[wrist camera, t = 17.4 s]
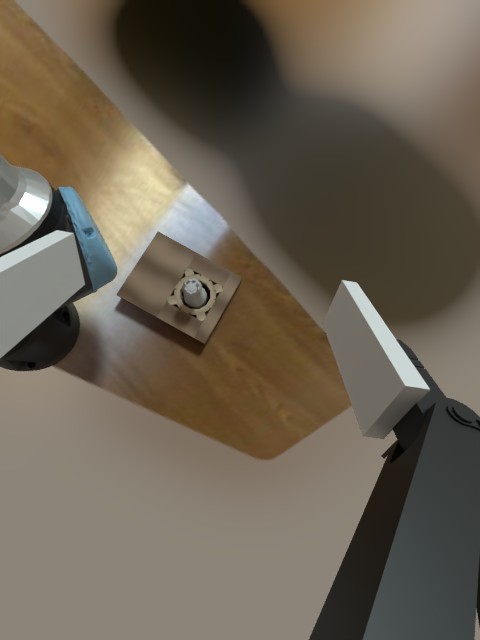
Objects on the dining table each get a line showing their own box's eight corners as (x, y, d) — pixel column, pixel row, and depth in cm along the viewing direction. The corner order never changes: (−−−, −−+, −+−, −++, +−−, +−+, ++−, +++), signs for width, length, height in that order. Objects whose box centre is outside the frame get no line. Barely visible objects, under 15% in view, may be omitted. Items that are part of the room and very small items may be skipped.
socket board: (205, 344, 48) (204, 343, 45) (121, 298, 48) (116, 294, 45) (241, 281, 50) (242, 278, 48) (161, 237, 50) (158, 231, 48)
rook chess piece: (212, 293, 49) (210, 281, 41) (199, 313, 49) (196, 304, 41) (192, 282, 49) (186, 268, 41) (179, 301, 49) (172, 290, 41)
